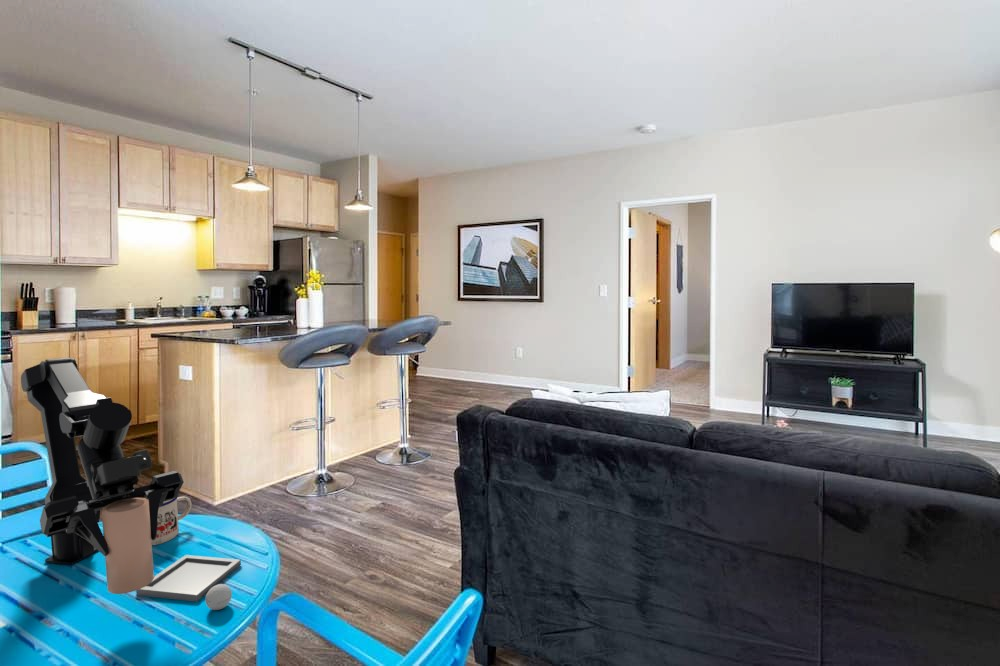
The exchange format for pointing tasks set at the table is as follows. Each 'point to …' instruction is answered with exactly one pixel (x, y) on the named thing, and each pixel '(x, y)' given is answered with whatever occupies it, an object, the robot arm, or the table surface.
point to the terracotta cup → (128, 545)
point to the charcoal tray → (189, 578)
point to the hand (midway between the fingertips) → (131, 546)
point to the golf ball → (218, 597)
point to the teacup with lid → (169, 519)
